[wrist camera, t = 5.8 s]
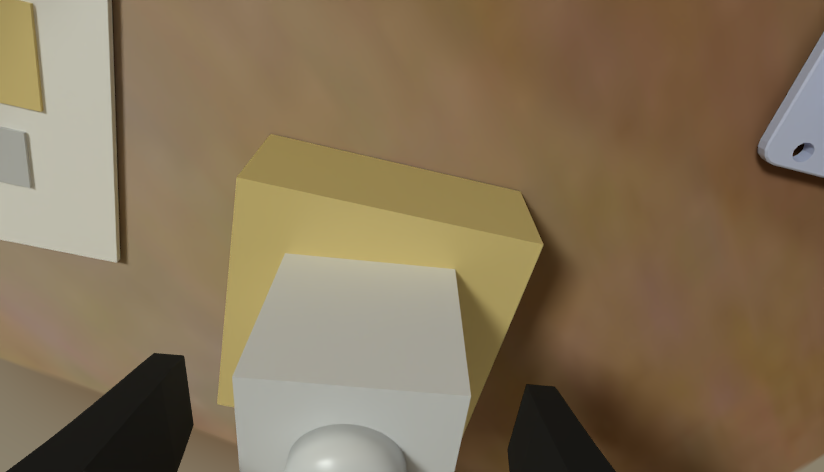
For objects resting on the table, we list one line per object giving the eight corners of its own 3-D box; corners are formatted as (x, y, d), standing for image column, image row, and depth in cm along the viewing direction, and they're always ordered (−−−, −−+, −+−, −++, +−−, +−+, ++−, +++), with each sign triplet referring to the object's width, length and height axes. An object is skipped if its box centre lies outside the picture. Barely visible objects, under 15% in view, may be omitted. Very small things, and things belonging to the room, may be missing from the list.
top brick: (455, 269, 12) (476, 435, 8) (433, 391, 14) (441, 577, 10) (284, 253, 12) (216, 414, 8) (286, 379, 14) (231, 564, 10)
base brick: (520, 191, 15) (543, 244, 12) (452, 372, 18) (458, 445, 15) (270, 133, 14) (236, 177, 11) (247, 334, 17) (217, 404, 14)
